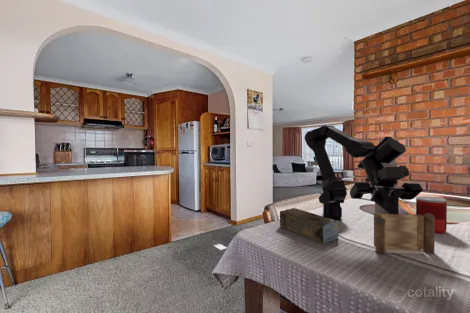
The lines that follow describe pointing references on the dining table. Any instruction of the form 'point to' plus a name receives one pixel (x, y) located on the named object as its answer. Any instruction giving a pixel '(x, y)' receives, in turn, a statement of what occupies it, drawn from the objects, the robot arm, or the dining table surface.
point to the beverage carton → (309, 225)
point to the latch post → (380, 235)
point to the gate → (402, 231)
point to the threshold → (403, 251)
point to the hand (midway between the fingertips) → (396, 216)
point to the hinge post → (429, 233)
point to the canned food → (433, 211)
